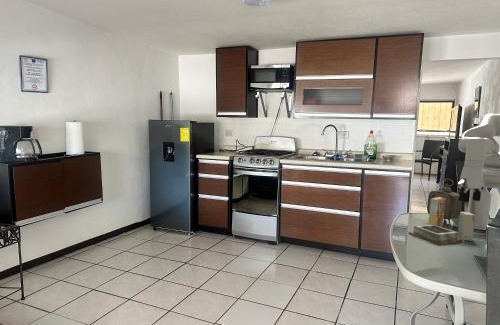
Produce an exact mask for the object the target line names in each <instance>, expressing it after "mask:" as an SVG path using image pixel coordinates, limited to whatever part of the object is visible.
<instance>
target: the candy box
mask: <svg viewBox="0 0 500 325" xmlns="http://www.w3.org/2000/svg"><path fill="white" fill-rule="evenodd" d="M445 203H446V199H445V198H441V197H437V198H432V199H431V205H430V213H429V216H428V222H427V225H432V224H434V225H437V226H440V227H443V225H444V222H443V221H444V219H443V218H444V210H445Z"/></svg>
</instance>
